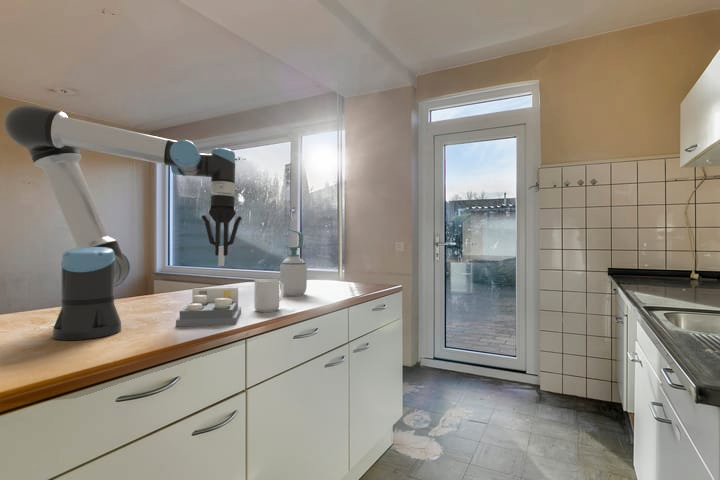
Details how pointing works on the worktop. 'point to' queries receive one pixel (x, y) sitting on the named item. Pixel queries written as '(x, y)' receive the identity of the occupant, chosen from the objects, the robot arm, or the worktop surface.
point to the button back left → (200, 299)
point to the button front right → (222, 303)
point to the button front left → (194, 306)
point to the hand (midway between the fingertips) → (221, 265)
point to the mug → (267, 295)
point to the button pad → (211, 309)
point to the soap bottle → (294, 271)
